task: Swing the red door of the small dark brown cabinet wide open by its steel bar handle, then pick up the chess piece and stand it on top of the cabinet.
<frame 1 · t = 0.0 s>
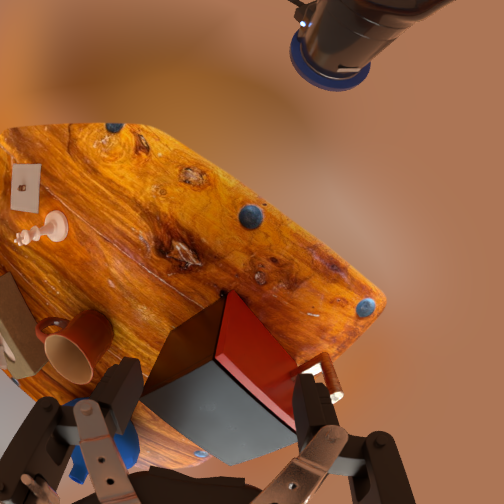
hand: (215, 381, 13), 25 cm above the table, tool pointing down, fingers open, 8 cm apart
chess piece: (57, 225, 36), on the table
mug: (90, 321, 40), on the table
tissue box: (21, 318, 41), on the table
grey square plate: (25, 187, 34), on the table
vase: (108, 413, 47), on the table
door: (286, 350, 32), point 8 cm above the table, hinge at 0.0°
dark brown cabinet: (231, 351, 41), on the table
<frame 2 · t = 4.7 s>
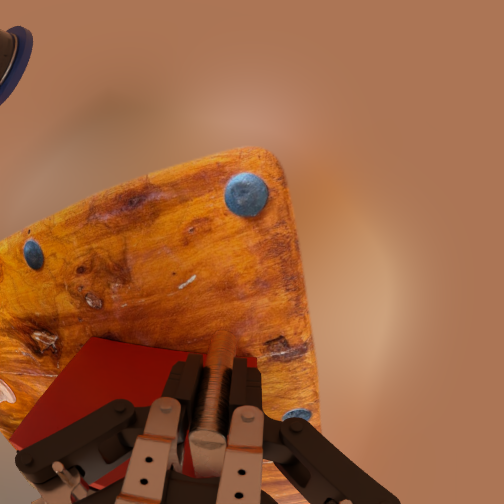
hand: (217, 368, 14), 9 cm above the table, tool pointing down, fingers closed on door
chess piece: (6, 389, 28), on the table
door: (135, 381, 16), point 8 cm above the table, hinge at 0.0°, touching gripper
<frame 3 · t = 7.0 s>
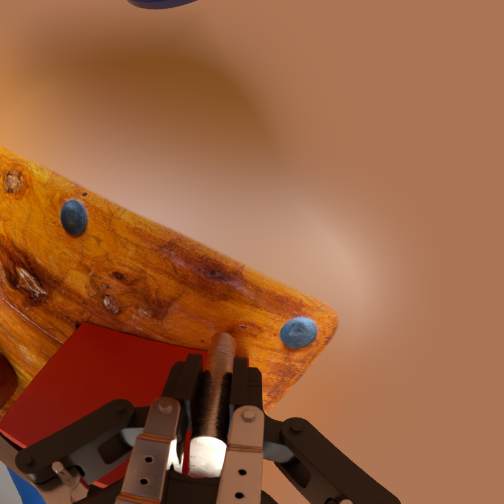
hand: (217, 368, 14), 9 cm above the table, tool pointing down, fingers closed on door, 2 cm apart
vase: (57, 454, 33), on the table
door: (131, 375, 15), point 7 cm above the table, hinge at 33.8°, touching gripper
dark brown cabinet: (121, 399, 26), on the table
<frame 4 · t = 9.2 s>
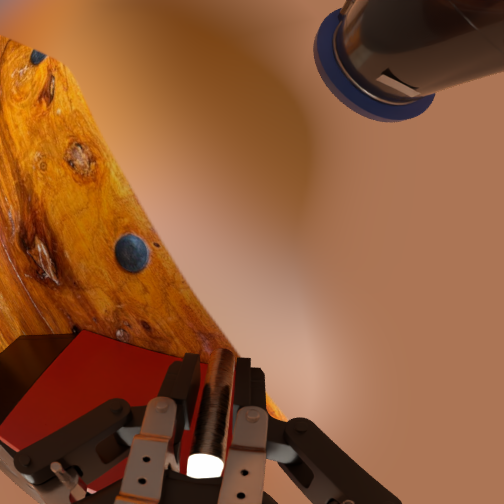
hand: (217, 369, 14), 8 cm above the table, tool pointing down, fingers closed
door: (129, 387, 15), point 7 cm above the table, hinge at 66.9°
dark brown cabinet: (77, 391, 25), on the table
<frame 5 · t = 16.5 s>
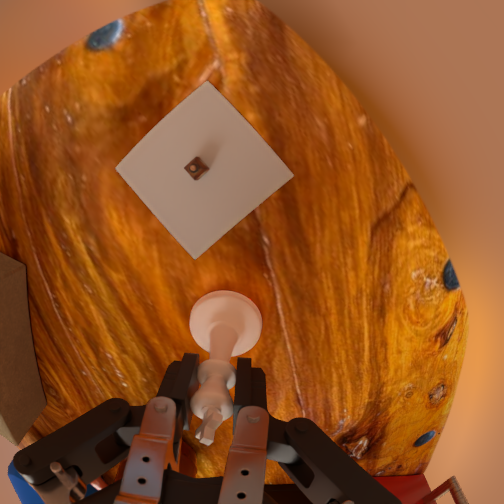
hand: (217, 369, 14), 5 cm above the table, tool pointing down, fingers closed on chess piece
chess piece: (226, 321, 19), on the table, touching gripper
mug: (156, 436, 23), on the table
tissue box: (6, 328, 20), on the table
grey square plate: (199, 168, 16), on the table
vase: (76, 467, 27), on the table
dark brown cabinet: (295, 503, 27), on the table
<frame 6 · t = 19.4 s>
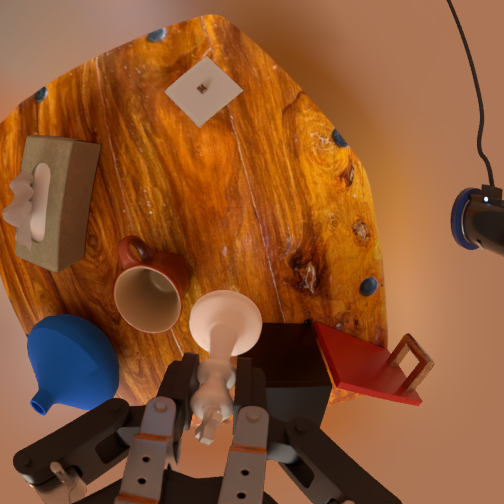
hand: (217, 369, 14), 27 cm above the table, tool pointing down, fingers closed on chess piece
chess piece: (225, 321, 19), point 21 cm above the table, touching gripper
mug: (164, 262, 40), on the table
tissue box: (68, 197, 38), on the table
grey square plate: (202, 90, 34), on the table
vase: (89, 343, 45), on the table
door: (379, 349, 36), point 7 cm above the table, hinge at 66.9°
dark brown cabinet: (271, 363, 45), on the table
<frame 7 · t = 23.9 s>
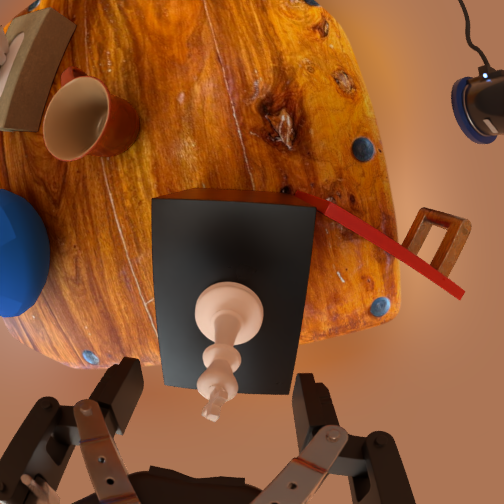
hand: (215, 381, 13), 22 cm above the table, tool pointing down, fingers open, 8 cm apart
chess piece: (229, 311, 20), point 15 cm above the table, touching dark brown cabinet
mug: (114, 119, 30), on the table
tissue box: (37, 77, 27), on the table
vase: (29, 241, 34), on the table
door: (387, 212, 26), point 8 cm above the table, hinge at 66.9°
dark brown cabinet: (237, 255, 35), on the table
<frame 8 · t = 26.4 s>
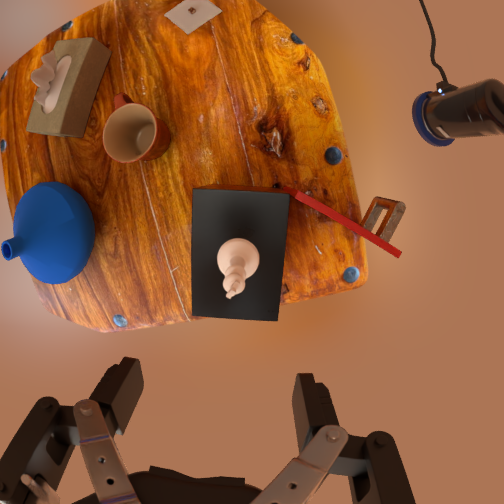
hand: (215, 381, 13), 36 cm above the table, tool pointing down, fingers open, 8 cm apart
chess piece: (238, 258, 33), point 15 cm above the table, touching dark brown cabinet
mug: (150, 132, 43), on the table
tissue box: (79, 92, 40), on the table
grey square plate: (192, 12, 37), on the table
vase: (72, 225, 47), on the table
door: (346, 199, 39), point 7 cm above the table, hinge at 66.9°
dark brown cabinet: (242, 233, 48), on the table
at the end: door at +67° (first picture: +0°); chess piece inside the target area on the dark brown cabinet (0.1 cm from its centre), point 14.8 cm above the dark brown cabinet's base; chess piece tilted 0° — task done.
